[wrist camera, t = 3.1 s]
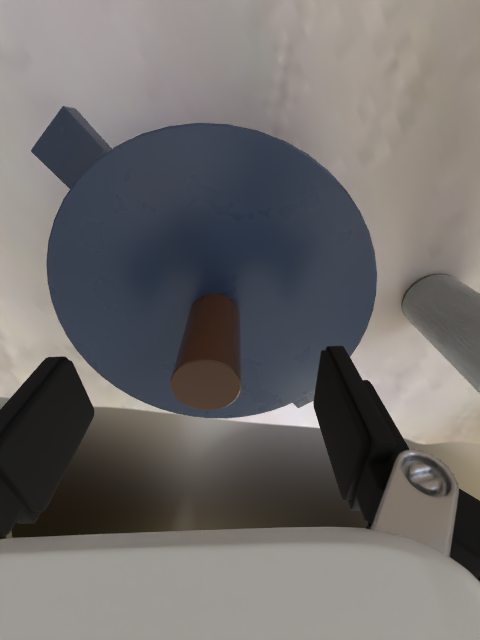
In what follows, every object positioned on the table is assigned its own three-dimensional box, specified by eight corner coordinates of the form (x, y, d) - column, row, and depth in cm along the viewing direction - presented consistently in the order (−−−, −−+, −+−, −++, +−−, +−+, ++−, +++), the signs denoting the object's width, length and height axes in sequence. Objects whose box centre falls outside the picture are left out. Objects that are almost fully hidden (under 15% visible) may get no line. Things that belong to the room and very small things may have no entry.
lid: (207, 433, 22) (197, 527, 16) (-3, 285, 15) (-135, 363, 9) (415, 321, 16) (500, 407, 11) (237, 3, 9) (237, -175, 4)
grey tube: (402, 327, 25) (492, 428, 16) (399, 284, 22) (501, 373, 14) (457, 312, 24) (583, 408, 15) (460, 265, 22) (609, 347, 13)
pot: (231, 381, 28) (230, 451, 22) (42, 215, 19) (-52, 251, 13) (373, 296, 23) (424, 355, 17) (202, 21, 14) (175, -73, 8)
